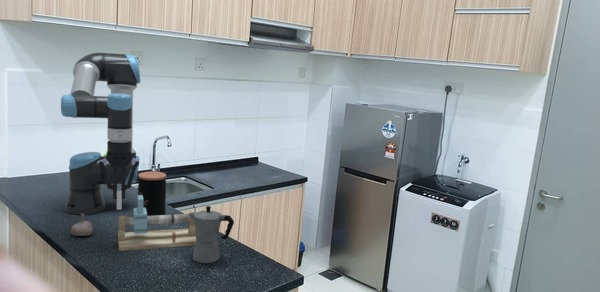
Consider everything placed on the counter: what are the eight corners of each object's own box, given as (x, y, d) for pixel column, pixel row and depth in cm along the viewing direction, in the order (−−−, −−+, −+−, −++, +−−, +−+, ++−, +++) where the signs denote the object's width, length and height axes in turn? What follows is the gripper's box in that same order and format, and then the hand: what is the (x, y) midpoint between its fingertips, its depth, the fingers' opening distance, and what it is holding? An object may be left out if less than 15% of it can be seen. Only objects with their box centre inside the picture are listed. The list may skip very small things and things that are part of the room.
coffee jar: (135, 214, 193) (136, 171, 189) (162, 212, 198) (163, 170, 194) (139, 223, 183) (140, 178, 180) (167, 220, 188) (168, 177, 185)
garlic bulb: (96, 236, 168) (96, 215, 167) (74, 240, 163) (74, 218, 162) (89, 229, 174) (89, 209, 172) (67, 233, 169) (67, 212, 167)
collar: (133, 226, 167) (133, 194, 165) (145, 226, 169) (145, 194, 166) (134, 234, 161) (134, 200, 159) (146, 233, 162) (147, 200, 160)
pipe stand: (118, 236, 169) (118, 211, 167) (191, 231, 179) (192, 207, 177) (118, 251, 157) (119, 223, 155) (197, 245, 167) (198, 219, 165)
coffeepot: (181, 260, 154) (183, 208, 150) (192, 249, 163) (194, 199, 159) (227, 267, 152) (230, 213, 148) (235, 255, 161) (238, 205, 158)
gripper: (98, 142, 150) (98, 212, 155) (140, 142, 155) (139, 210, 160) (98, 138, 157) (98, 205, 162) (139, 138, 162) (138, 204, 166)
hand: (119, 208), depth 161 cm, fingers closed
